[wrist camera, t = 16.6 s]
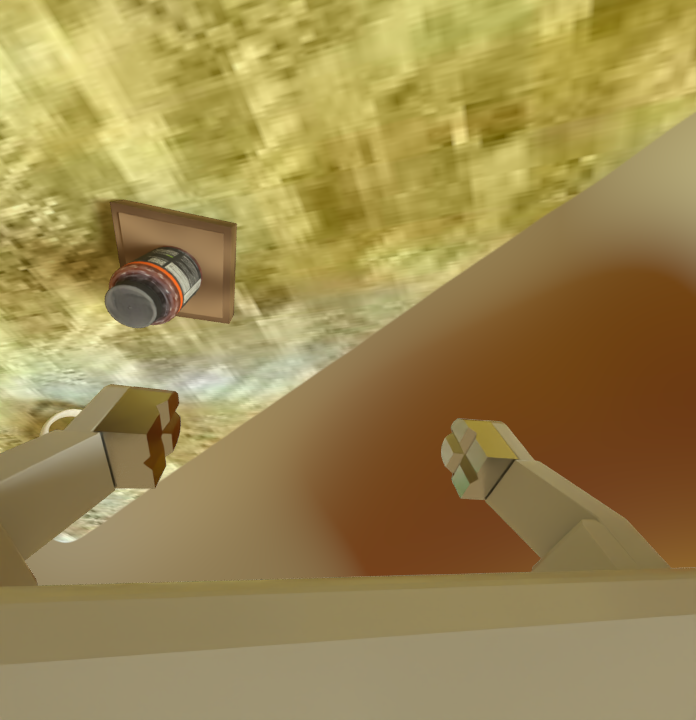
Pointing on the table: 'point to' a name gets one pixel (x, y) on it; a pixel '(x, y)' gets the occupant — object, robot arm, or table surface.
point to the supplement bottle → (153, 287)
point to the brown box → (194, 235)
